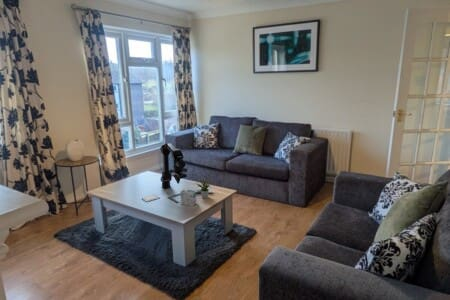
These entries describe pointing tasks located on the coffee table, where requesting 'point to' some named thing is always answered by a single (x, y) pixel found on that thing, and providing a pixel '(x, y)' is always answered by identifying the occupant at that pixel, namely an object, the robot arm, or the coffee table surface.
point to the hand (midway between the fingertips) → (178, 183)
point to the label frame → (174, 199)
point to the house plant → (204, 188)
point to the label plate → (150, 198)
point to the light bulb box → (188, 197)
